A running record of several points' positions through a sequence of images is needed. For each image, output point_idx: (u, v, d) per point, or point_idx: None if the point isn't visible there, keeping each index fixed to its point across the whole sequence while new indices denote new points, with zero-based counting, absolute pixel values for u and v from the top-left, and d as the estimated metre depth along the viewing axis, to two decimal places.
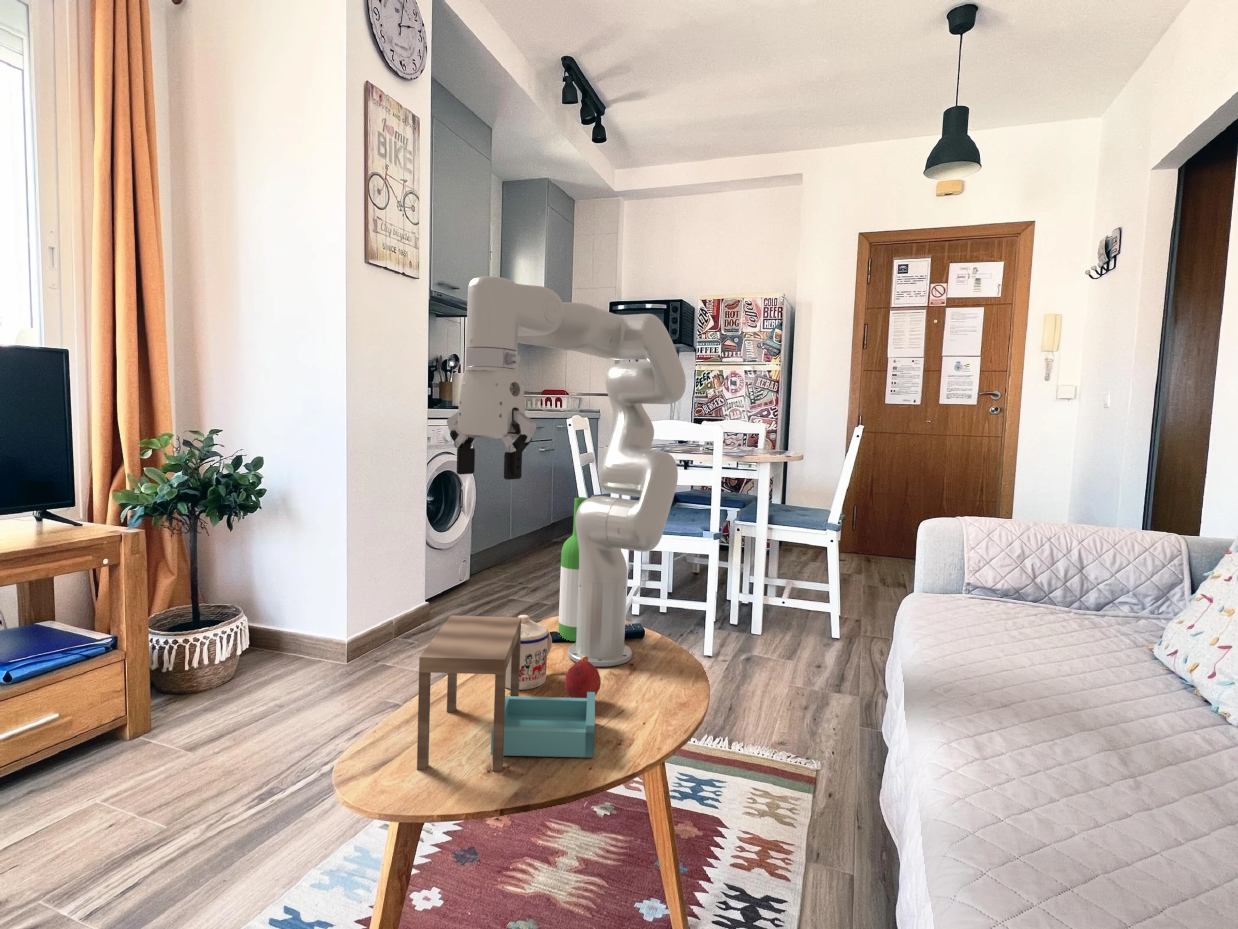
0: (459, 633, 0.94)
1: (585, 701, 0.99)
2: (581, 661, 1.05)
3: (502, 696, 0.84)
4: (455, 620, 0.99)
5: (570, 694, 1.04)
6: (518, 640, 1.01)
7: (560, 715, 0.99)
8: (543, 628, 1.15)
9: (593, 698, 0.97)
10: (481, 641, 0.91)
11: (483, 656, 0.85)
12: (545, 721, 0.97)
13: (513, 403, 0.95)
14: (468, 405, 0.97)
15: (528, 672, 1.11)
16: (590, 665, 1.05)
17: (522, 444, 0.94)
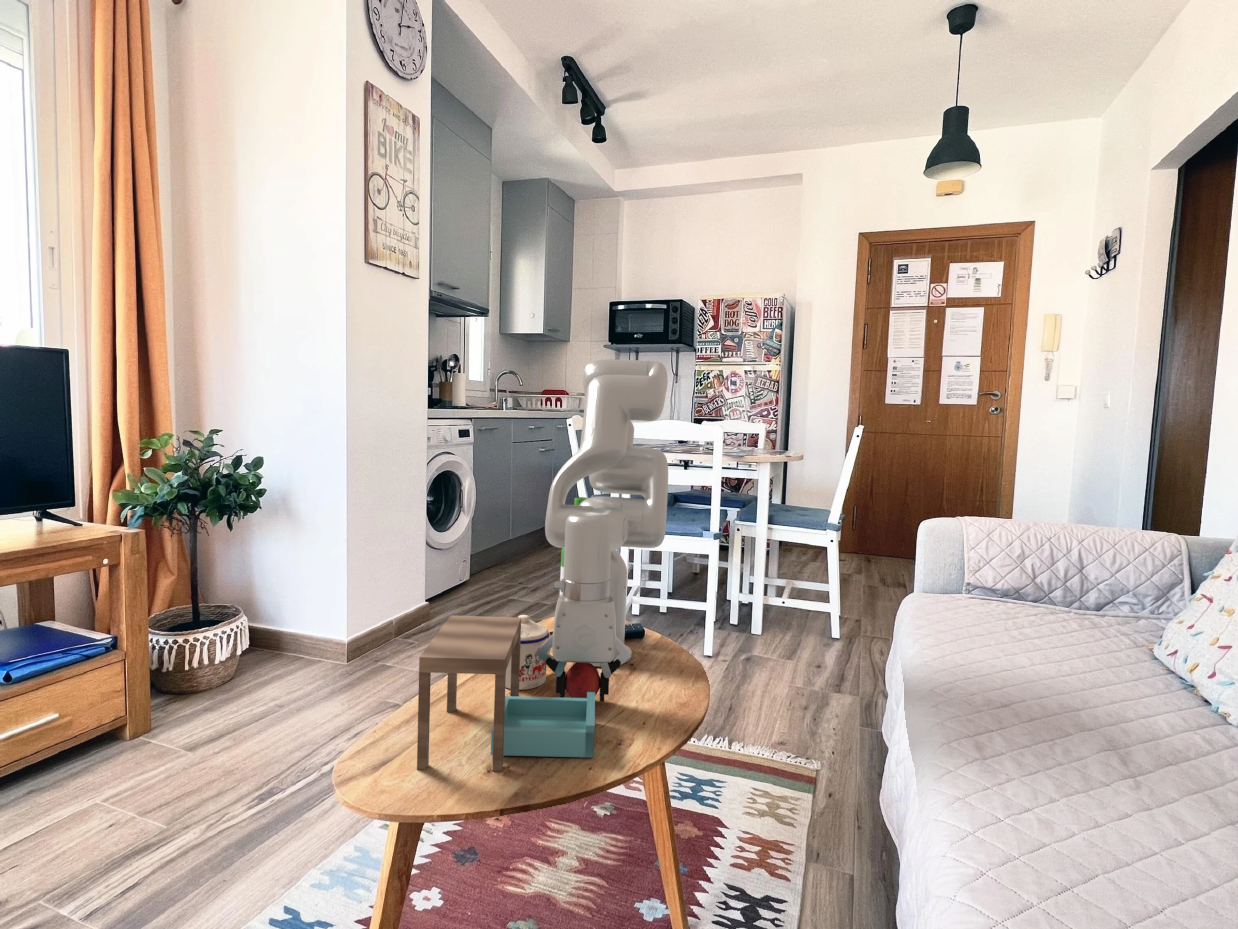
0: (459, 633, 0.94)
1: (585, 701, 0.99)
2: None
3: (502, 696, 0.84)
4: (455, 620, 0.99)
5: (570, 694, 1.04)
6: (518, 640, 1.01)
7: (560, 715, 0.99)
8: (543, 628, 1.15)
9: (593, 698, 0.97)
10: (481, 641, 0.91)
11: (483, 656, 0.85)
12: (545, 721, 0.97)
13: None
14: None
15: (528, 672, 1.11)
16: (590, 665, 1.05)
17: None
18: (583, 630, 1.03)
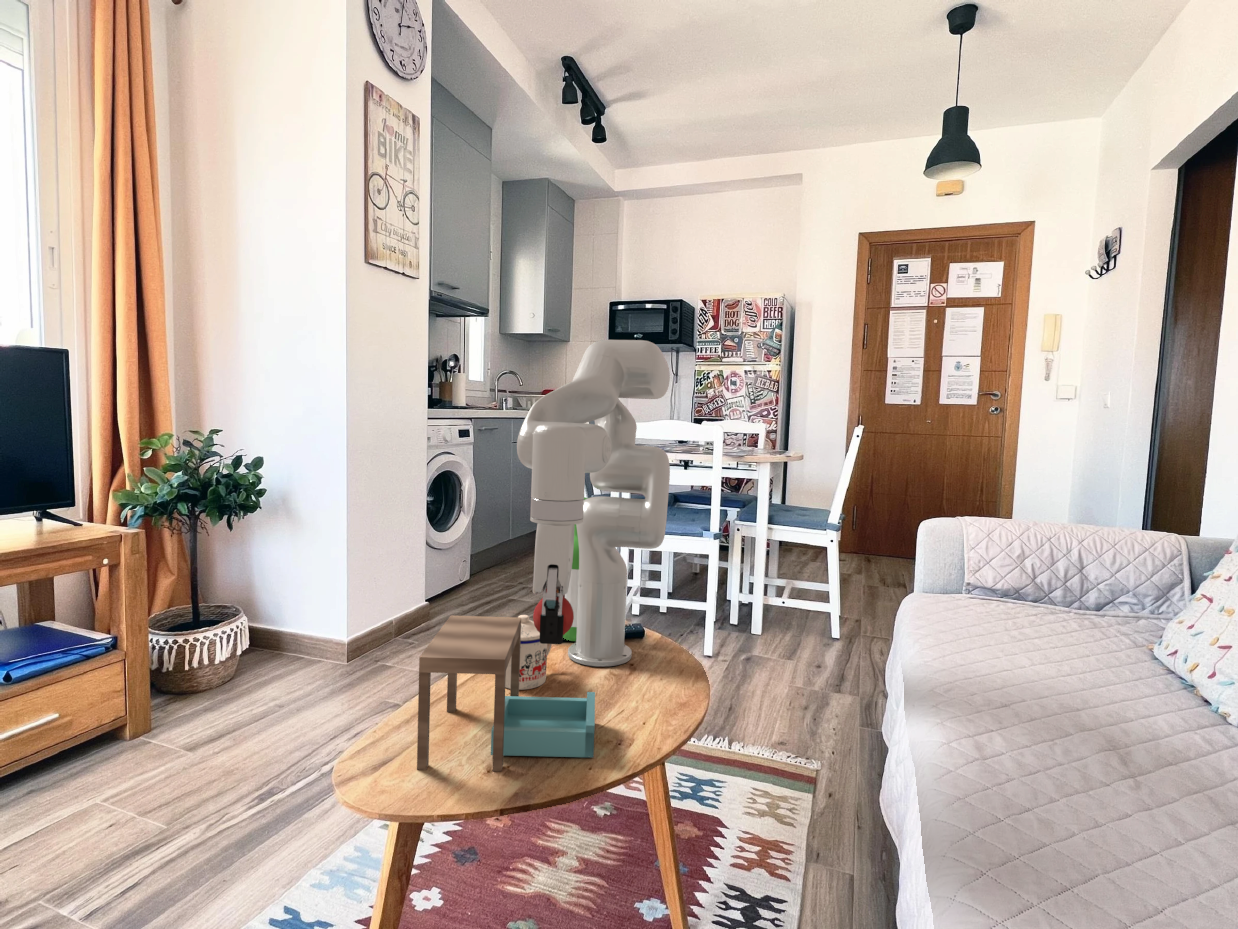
0: (459, 633, 0.94)
1: (585, 701, 0.99)
2: None
3: (502, 696, 0.84)
4: (455, 620, 0.99)
5: None
6: (518, 640, 1.01)
7: (560, 715, 0.99)
8: None
9: (593, 698, 0.97)
10: (481, 641, 0.91)
11: (483, 656, 0.85)
12: (545, 721, 0.97)
13: None
14: (571, 560, 0.91)
15: (528, 672, 1.11)
16: None
17: None
18: None
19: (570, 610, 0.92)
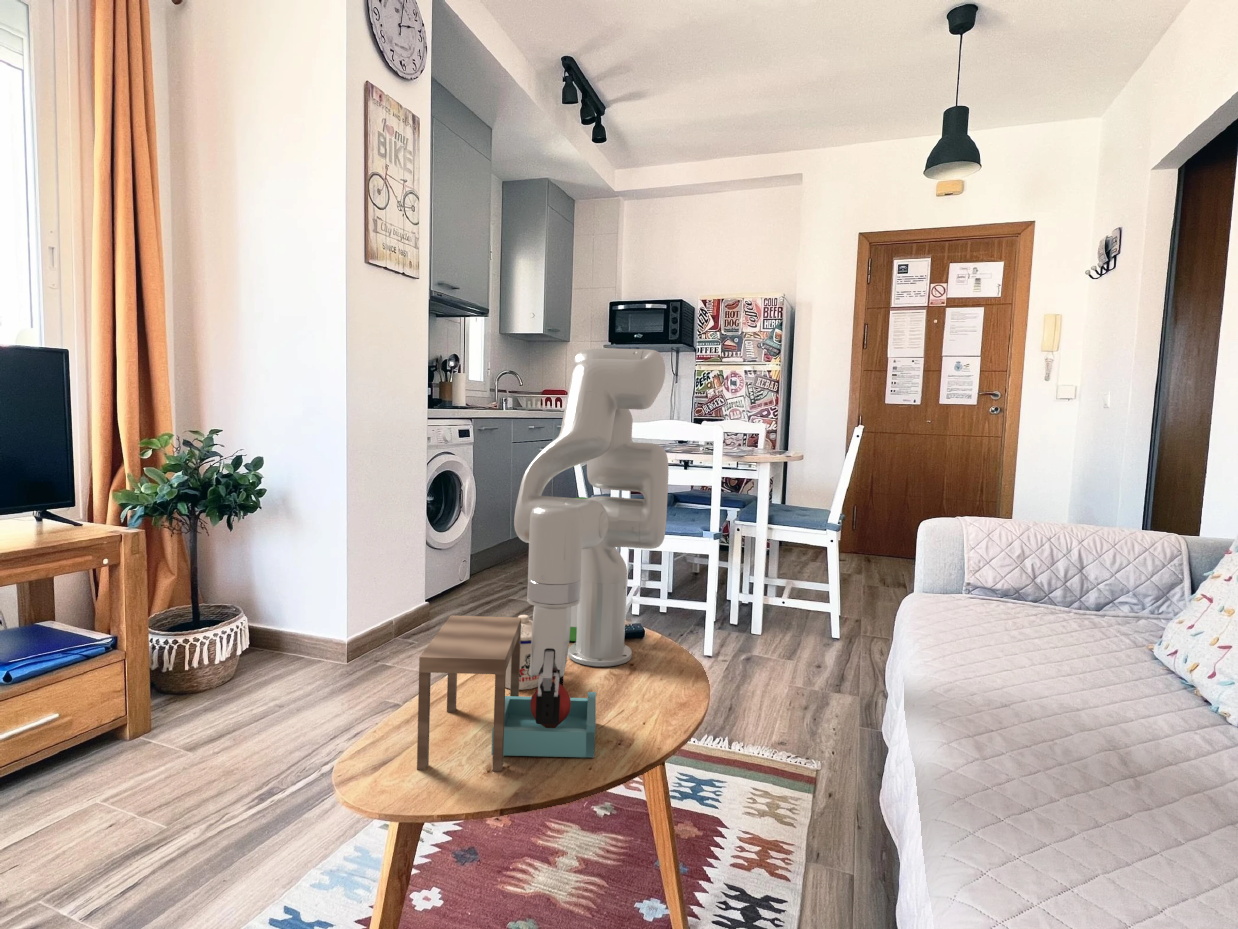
0: (459, 633, 0.94)
1: (586, 701, 0.99)
2: None
3: (502, 696, 0.84)
4: (455, 620, 0.99)
5: None
6: (518, 640, 1.01)
7: None
8: None
9: (594, 698, 0.97)
10: (481, 641, 0.91)
11: (483, 656, 0.85)
12: None
13: None
14: (568, 641, 0.91)
15: (528, 672, 1.11)
16: None
17: None
18: None
19: (567, 699, 0.93)
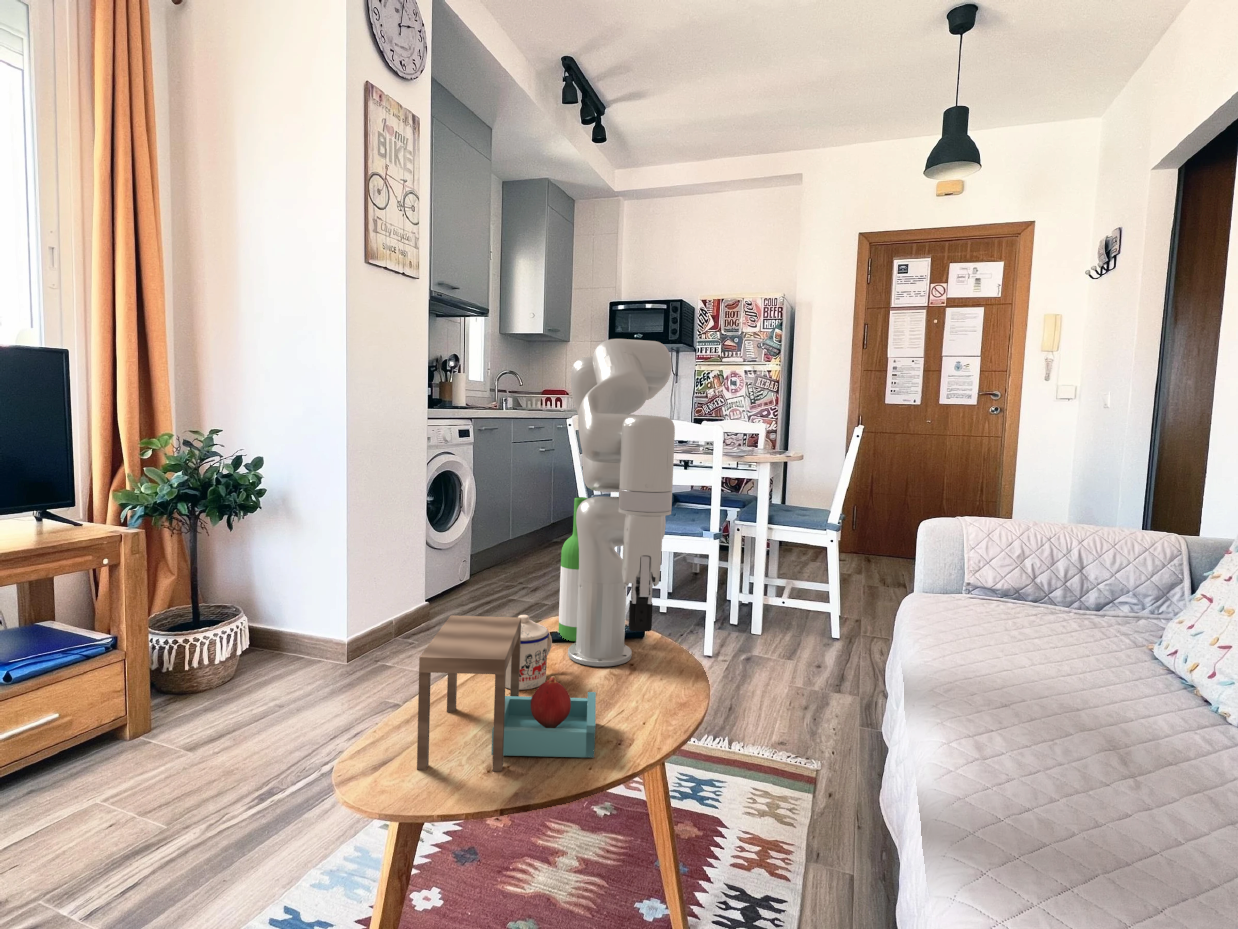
0: (459, 633, 0.94)
1: (586, 701, 0.99)
2: (548, 679, 0.94)
3: (502, 696, 0.84)
4: (455, 620, 0.99)
5: None
6: (518, 640, 1.01)
7: None
8: (543, 628, 1.15)
9: (594, 698, 0.97)
10: (481, 641, 0.91)
11: (483, 656, 0.85)
12: None
13: None
14: None
15: (528, 672, 1.11)
16: (547, 688, 0.93)
17: None
18: (624, 542, 0.93)
19: (567, 699, 0.93)
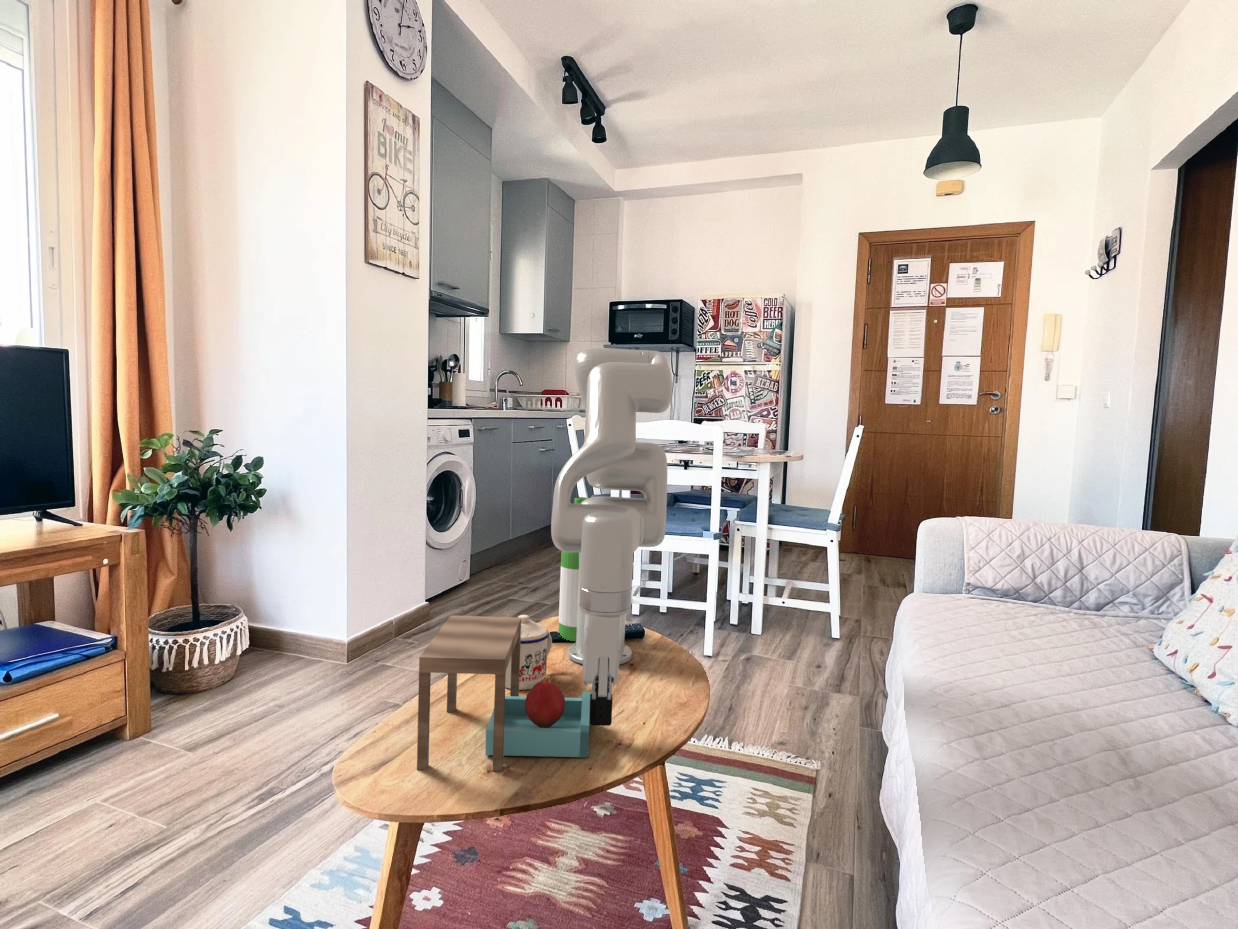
0: (459, 633, 0.94)
1: (580, 701, 0.99)
2: None
3: (502, 696, 0.84)
4: (455, 620, 0.99)
5: None
6: (518, 640, 1.01)
7: None
8: (543, 628, 1.15)
9: (588, 698, 0.97)
10: (481, 641, 0.91)
11: (483, 656, 0.85)
12: None
13: None
14: (620, 649, 0.91)
15: (528, 672, 1.11)
16: (541, 687, 0.93)
17: None
18: None
19: (562, 699, 0.93)
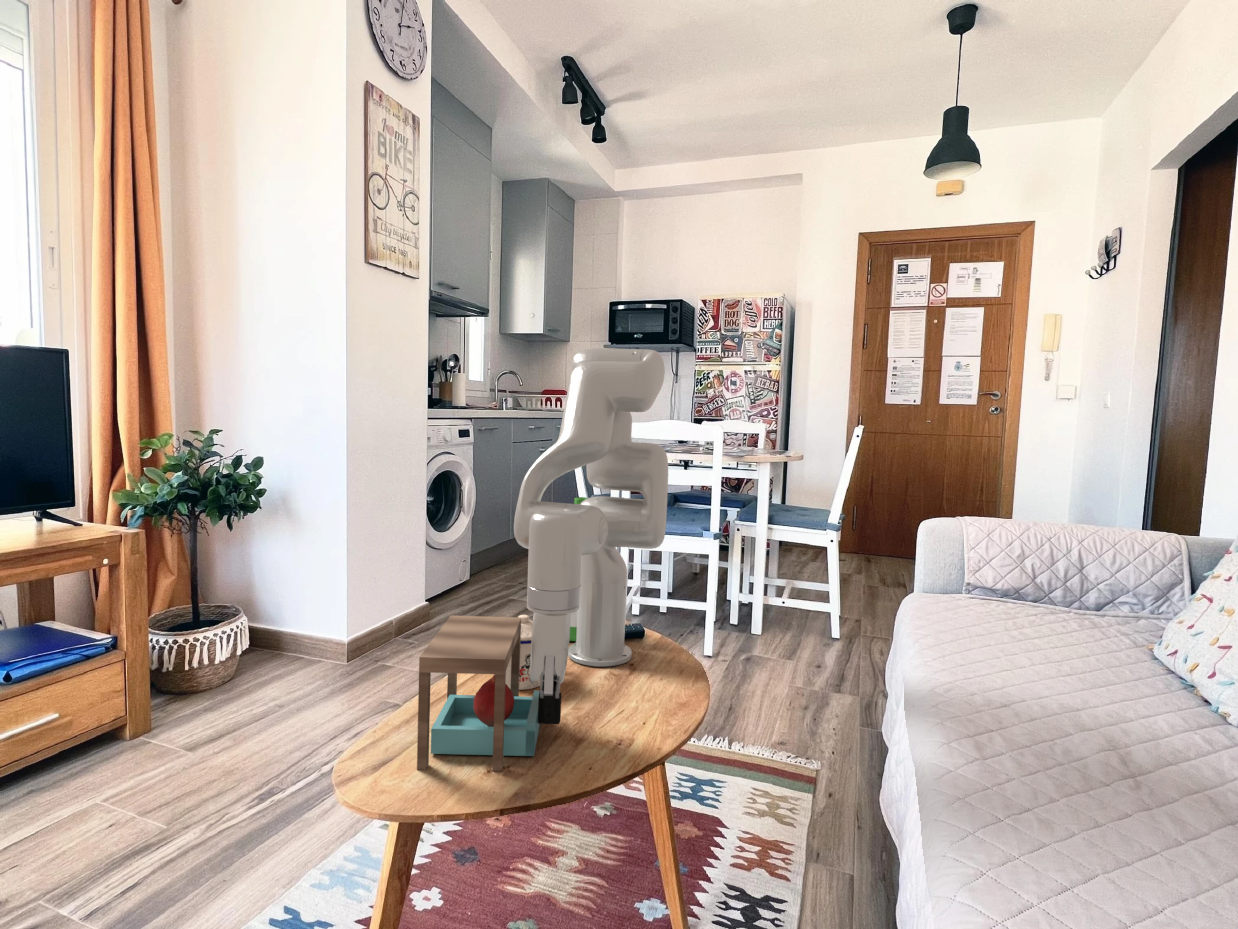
0: (459, 633, 0.94)
1: (531, 700, 0.98)
2: (491, 678, 0.94)
3: (502, 696, 0.84)
4: (455, 620, 0.99)
5: None
6: (518, 640, 1.01)
7: None
8: None
9: None
10: (481, 641, 0.91)
11: (483, 656, 0.85)
12: None
13: None
14: (567, 647, 0.91)
15: (528, 672, 1.11)
16: (489, 686, 0.92)
17: None
18: None
19: (510, 697, 0.93)
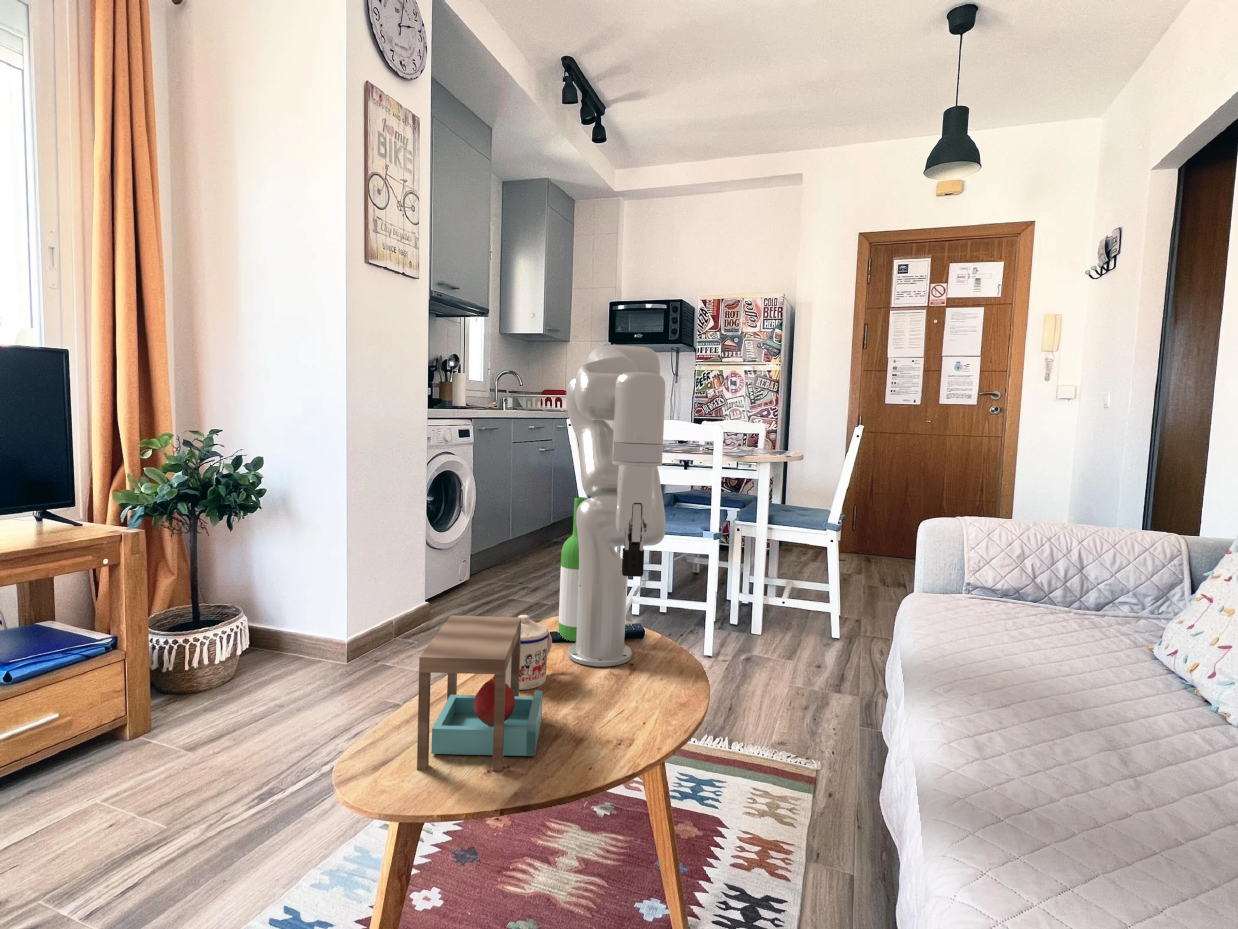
0: (459, 633, 0.94)
1: (532, 700, 0.98)
2: (492, 678, 0.94)
3: (502, 696, 0.84)
4: (455, 620, 0.99)
5: None
6: (518, 640, 1.01)
7: None
8: (543, 628, 1.15)
9: (539, 697, 0.97)
10: (481, 641, 0.91)
11: (483, 656, 0.85)
12: None
13: None
14: None
15: (528, 672, 1.11)
16: (490, 686, 0.92)
17: None
18: None
19: (511, 697, 0.93)
